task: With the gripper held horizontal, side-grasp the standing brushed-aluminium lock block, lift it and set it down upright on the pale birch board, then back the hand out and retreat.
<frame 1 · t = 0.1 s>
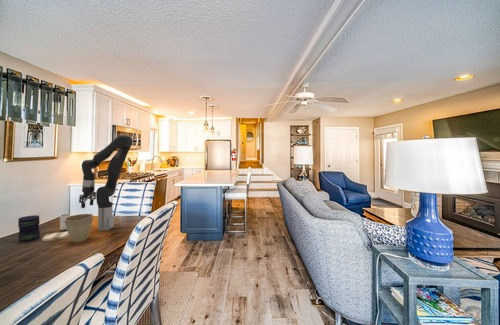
hand: (87, 206, 161), 17 cm above the table, tool pointing down, fingers open, 8 cm apart
aluminium lock block: (65, 230, 157), on the table
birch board: (59, 236, 146), on the table
plant pot: (79, 240, 140), on the table
storage jar: (29, 239, 140), on the table
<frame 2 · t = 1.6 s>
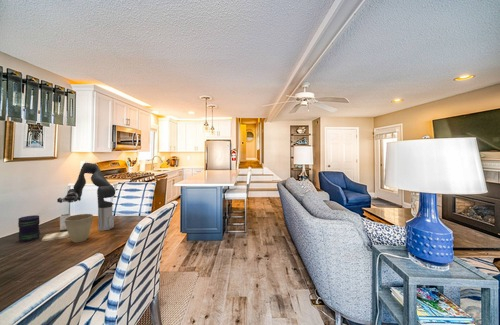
hand: (67, 201, 165), 20 cm above the table, tool horizontal, fingers open, 8 cm apart
nothing on the table moved.
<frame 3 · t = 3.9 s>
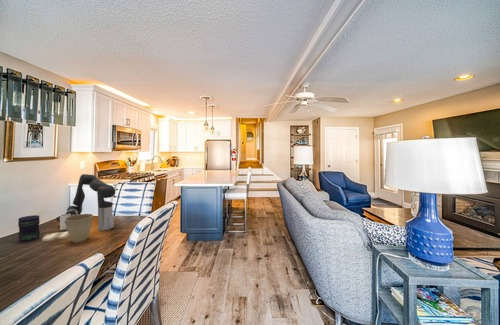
hand: (67, 219, 162), 7 cm above the table, tool horizontal, fingers open, 8 cm apart
nothing on the table moved.
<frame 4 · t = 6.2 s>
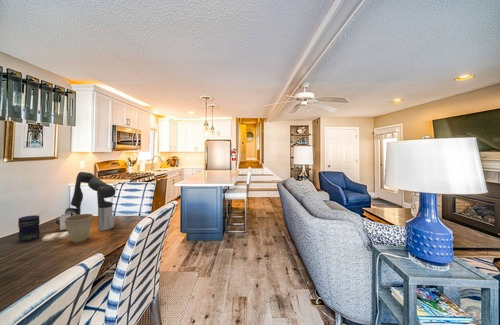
hand: (64, 223, 154), 7 cm above the table, tool horizontal, fingers closed on aluminium lock block, 5 cm apart
aluminium lock block: (65, 230, 157), on the table, touching gripper
everything else where it was.
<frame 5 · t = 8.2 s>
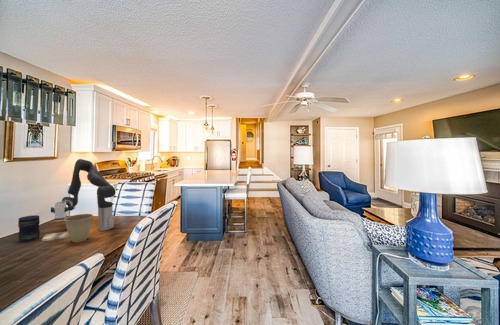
hand: (59, 211, 145), 18 cm above the table, tool horizontal, fingers closed on aluminium lock block, 5 cm apart
aluminium lock block: (60, 219, 148), point 11 cm above the table, touching gripper
everything else where it was.
when the fingers open (9 cm above the table, at t = 10.4 s): aluminium lock block drops 1 cm, resting on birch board.
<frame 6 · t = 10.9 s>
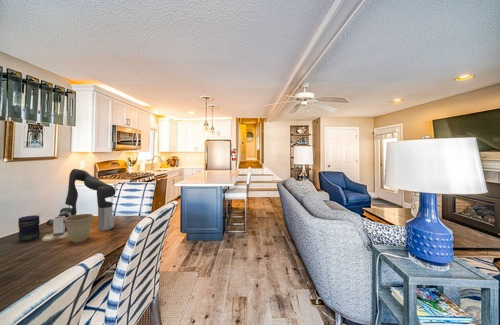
hand: (58, 223, 144), 10 cm above the table, tool horizontal, fingers open, 8 cm apart
aluminium lock block: (59, 234, 146), point 1 cm above the table, touching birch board
everything else where it was.
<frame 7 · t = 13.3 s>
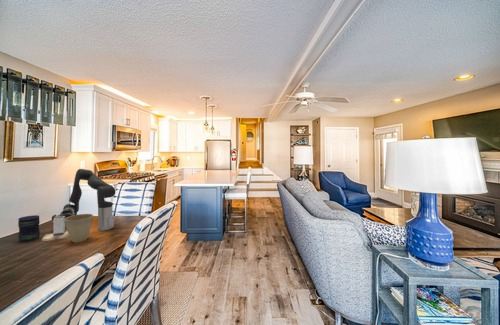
hand: (62, 218, 155), 10 cm above the table, tool horizontal, fingers open, 8 cm apart
nothing on the table moved.
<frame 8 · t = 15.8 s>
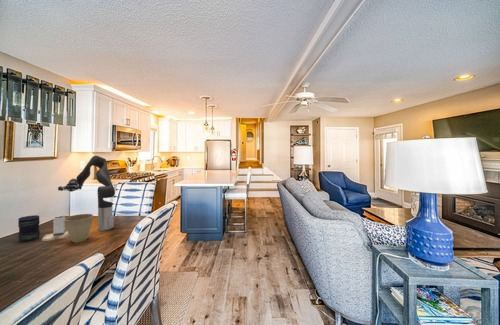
hand: (68, 189, 164), 30 cm above the table, tool horizontal, fingers open, 8 cm apart
nothing on the table moved.
at the end: aluminium lock block inside the target area on the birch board (0.1 cm from its centre), point 1.5 cm above the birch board's base; aluminium lock block tilted 0°; the gripper is holding nothing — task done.
